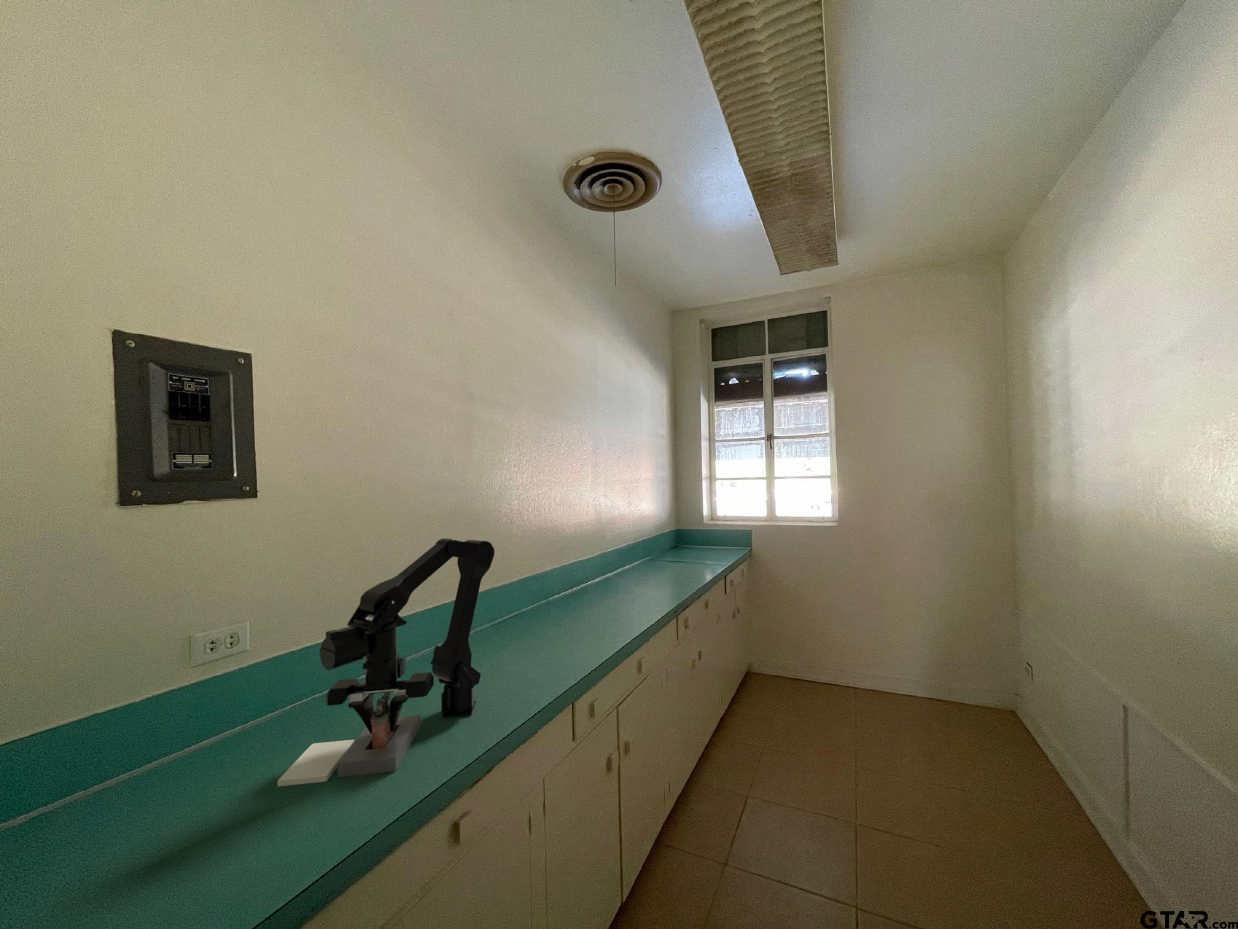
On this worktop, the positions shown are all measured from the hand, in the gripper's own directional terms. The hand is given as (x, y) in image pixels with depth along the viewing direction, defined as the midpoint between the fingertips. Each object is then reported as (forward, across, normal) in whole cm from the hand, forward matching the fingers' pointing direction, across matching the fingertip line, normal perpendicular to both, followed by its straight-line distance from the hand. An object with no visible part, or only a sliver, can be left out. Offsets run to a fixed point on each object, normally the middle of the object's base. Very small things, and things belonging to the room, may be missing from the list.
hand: (382, 731), depth 94 cm
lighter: (+4, 0, 0) cm, 4 cm away
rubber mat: (+3, +10, +3) cm, 11 cm away
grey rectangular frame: (+4, 0, 0) cm, 4 cm away
